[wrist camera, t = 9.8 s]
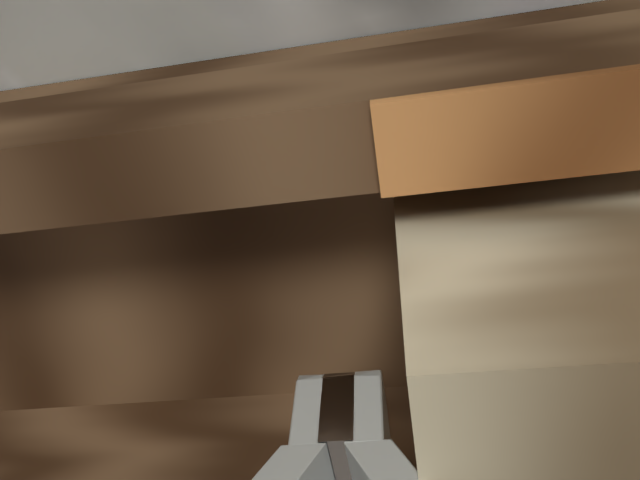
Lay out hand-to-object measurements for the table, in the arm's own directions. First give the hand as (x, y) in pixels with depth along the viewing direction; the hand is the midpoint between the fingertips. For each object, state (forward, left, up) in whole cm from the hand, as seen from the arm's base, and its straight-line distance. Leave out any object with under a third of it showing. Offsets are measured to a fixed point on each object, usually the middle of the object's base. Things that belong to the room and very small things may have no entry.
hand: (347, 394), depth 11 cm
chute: (-4, 0, -5) cm, 6 cm away
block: (+4, 0, -3) cm, 5 cm away
